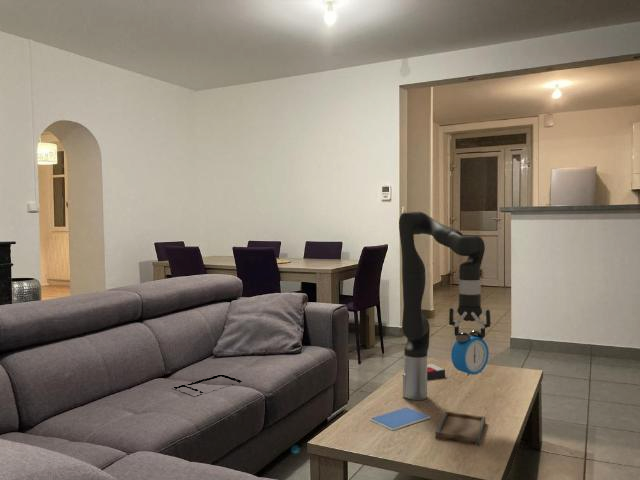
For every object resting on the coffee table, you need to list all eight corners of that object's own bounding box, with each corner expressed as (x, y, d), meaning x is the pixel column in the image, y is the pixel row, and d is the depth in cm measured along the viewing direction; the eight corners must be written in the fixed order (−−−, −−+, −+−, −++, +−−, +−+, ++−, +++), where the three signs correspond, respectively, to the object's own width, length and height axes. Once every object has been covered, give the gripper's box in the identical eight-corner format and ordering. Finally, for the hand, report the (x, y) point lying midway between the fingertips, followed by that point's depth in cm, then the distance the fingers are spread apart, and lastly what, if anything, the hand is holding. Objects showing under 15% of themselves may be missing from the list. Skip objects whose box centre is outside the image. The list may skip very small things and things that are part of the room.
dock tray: (435, 438, 177) (435, 431, 176) (445, 417, 195) (445, 411, 195) (479, 445, 171) (479, 438, 171) (485, 423, 190) (485, 416, 190)
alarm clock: (463, 378, 184) (463, 335, 183) (450, 374, 189) (450, 332, 188) (489, 372, 191) (489, 330, 190) (475, 368, 196) (475, 327, 195)
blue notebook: (392, 432, 183) (392, 429, 183) (368, 421, 193) (368, 417, 193) (431, 419, 194) (431, 416, 194) (406, 409, 204) (406, 406, 204)
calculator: (404, 367, 248) (431, 362, 254) (404, 376, 248) (432, 371, 254) (417, 373, 238) (445, 368, 243) (417, 383, 238) (445, 377, 244)
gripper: (491, 291, 190) (491, 337, 190) (450, 290, 195) (450, 334, 195) (490, 294, 183) (490, 341, 183) (447, 292, 188) (447, 338, 188)
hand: (469, 337), depth 189 cm, fingers closed on alarm clock, 8 cm apart
